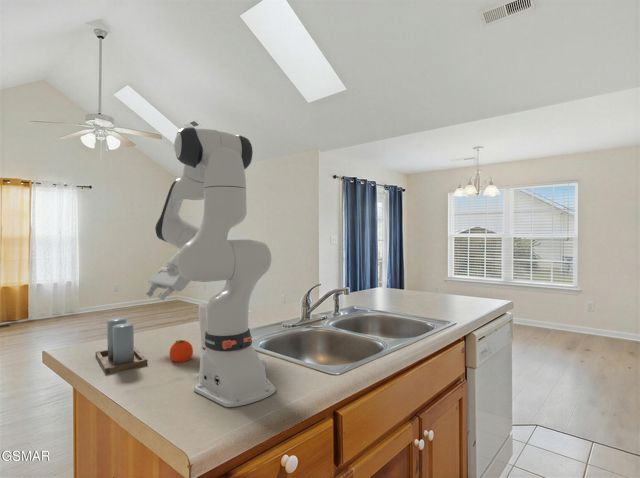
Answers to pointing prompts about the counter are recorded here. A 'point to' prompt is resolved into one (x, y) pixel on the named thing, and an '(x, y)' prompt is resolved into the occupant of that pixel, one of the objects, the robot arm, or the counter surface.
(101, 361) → the tray
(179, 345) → the clementine
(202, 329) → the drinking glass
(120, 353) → the grey tall cylinder
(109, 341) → the post
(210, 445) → the counter surface
